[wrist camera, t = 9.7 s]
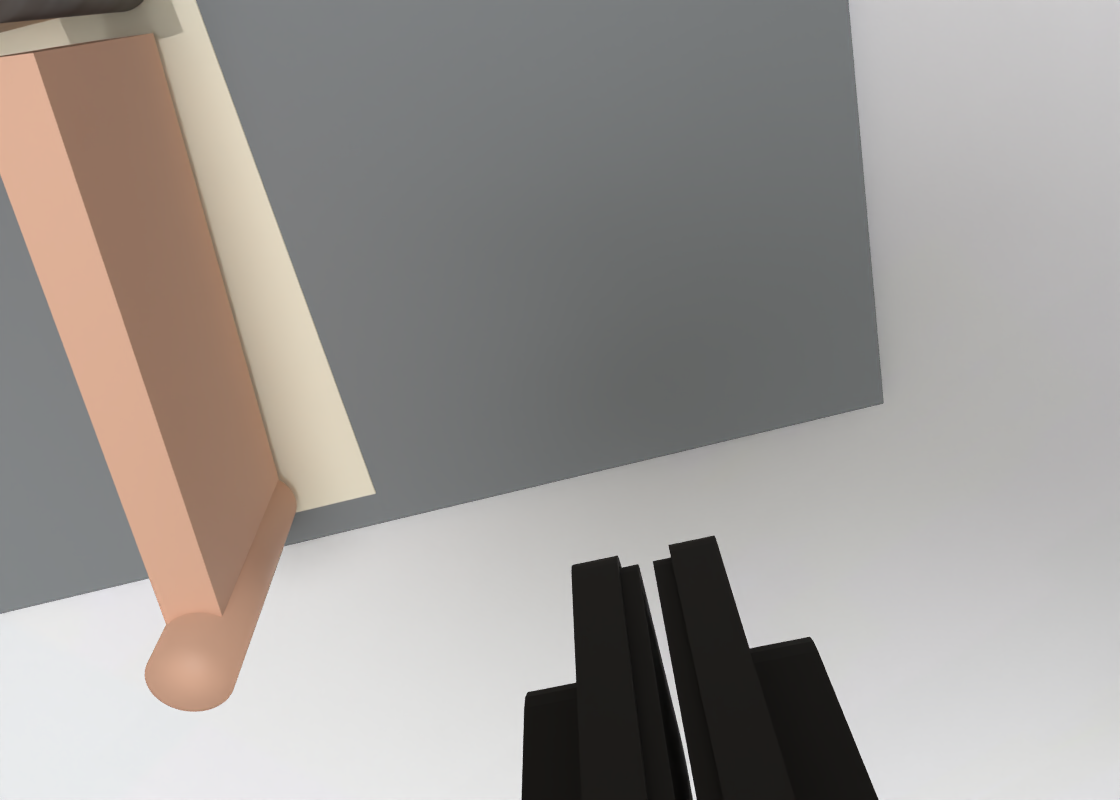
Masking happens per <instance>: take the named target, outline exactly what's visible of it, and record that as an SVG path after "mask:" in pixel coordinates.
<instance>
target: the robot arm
mask: <svg viewBox="0 0 1120 800" xmlns="http://www.w3.org/2000/svg"><path fill="white" fill-rule="evenodd" d="M669 550H670V554H671V558H667V559H662V560H657V561H653V565H654V570H655V576H656V581H657V587H658V592H659V597H660V603H661V608H662V614H663V619H664V624H665V630H666V635H667V641H668V646H669V651H670V657H671V662H672V668H673V673H674V678H675V684H676V689H677V695H678V700H679V705H680V711H681V716H682V722H683V727H684V732H685V738H686V743H687V749H688V754H689V759H690V765H691V770H692V776H693V781H694V786H695V792H696V797H697V800H878V797H877V795H876V793H875V790H874V788H873V785H872V783H871V780H870V778H869V775H868V773H867V770H866V768H865V766H864V763H863V761H862V758H861V756H860V753H859V751H858V748H857V746H856V743H855V741H854V738H853V736H852V734H851V731H850V729H849V726H848V724H847V721H846V719H845V716H844V714H843V711H842V709H841V707H840V704H839V702H838V699H837V697H836V694H835V692H834V689H833V687H832V684H831V682H830V680H829V677H828V675H827V672H826V670H825V667H824V665H823V662H822V660H821V657H820V655H819V652H818V650H817V648H816V646H815V644H814V642H813V640H812V639H811V638H810V637H806V638H801V639H796V640H791V641H786V642H781V643H776V644H771V645H766V646H760V647H755V648H750V649H749V646H748V643H747V639H746V636H745V633H744V629H743V626H742V623H741V620H740V616H739V613H738V610H737V607H736V603H735V600H734V597H733V593H732V590H731V587H730V584H729V580H728V577H727V574H726V571H725V567H724V564H723V561H722V557H721V554H720V551H719V548H718V544H717V541H716V538H715V536H710V537H705V538H701V539H696V540H691V541H686V542H681V543H676V544H672V545H669ZM572 594H573V617H574V640H575V662H576V683H572V684H567V685H562V686H557V687H552V688H547V689H542V690H537V691H532V692H528V693H527V695H526V697H525V706H524V736H523V770H522V800H693V798H692V793H691V787H690V781H689V776H688V770H687V765H686V760H685V755H684V750H683V746H682V741H681V737H680V733H679V728H678V724H677V720H676V716H675V712H674V708H673V704H672V700H671V695H670V691H669V687H668V683H667V679H666V675H665V671H664V667H663V663H662V658H661V654H660V650H659V646H658V642H657V638H656V634H655V630H654V625H653V621H652V617H651V613H650V609H649V605H648V601H647V597H646V592H645V588H644V584H643V580H642V576H641V572H640V568H639V565H633V566H628V567H623V568H621V564H620V561H619V558H618V556H614V557H609V558H604V559H599V560H595V561H590V562H585V563H580V564H575V565H572Z"/></svg>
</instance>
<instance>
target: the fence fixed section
mask: <svg viewBox="0 0 1120 800" xmlns="http://www.w3.org/2000/svg"><path fill="white" fill-rule="evenodd" d="M142 2H143V0H0V33H1V32H5V31H9V30H13V29H17V28H21V27H25V26H28V25H32V24H36V23H40V22H44V21H48V20H52V19H56V18H63V17H73V16H84V15H95V14H105V13H116V12H125V11H129V10H132V9H134V8H136V7H137V6H139V5H140V4H141V3H142Z"/></svg>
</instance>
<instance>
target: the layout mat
mask: <svg viewBox="0 0 1120 800" xmlns="http://www.w3.org/2000/svg"><path fill="white" fill-rule="evenodd" d="M150 33H153V35H154V38H155V42H156V45H157V49H158V52H159V56H160V59H161V63H162V67H163V70H164V74H165V77H166V81H167V84H168V88H169V91H170V95H171V99H172V102H173V106H174V109H175V113H176V116H177V120H178V123H179V127H180V130H181V134H182V138H183V141H184V145H185V148H186V152H187V155H188V159H189V162H190V166H191V169H192V173H193V177H194V180H195V184H196V187H197V191H198V194H199V198H200V201H201V205H202V208H203V212H204V216H205V219H206V223H207V226H208V230H209V233H210V237H211V240H212V244H213V248H214V251H215V255H216V258H217V262H218V265H219V269H220V272H221V276H222V279H223V283H224V287H225V290H226V294H227V297H228V301H229V304H230V308H231V311H232V315H233V318H234V322H235V326H236V329H237V333H238V336H239V340H240V343H241V347H242V350H243V354H244V357H245V361H246V365H247V368H248V372H249V375H250V379H251V382H252V386H253V389H254V393H255V397H256V400H257V404H258V407H259V411H260V414H261V418H262V421H263V425H264V428H265V432H266V436H267V439H268V443H269V446H270V450H271V453H272V457H273V460H274V464H275V467H276V471H277V475H278V478H279V480H280V481H282V482H283V483H285V484H286V485H287V486H288V487H289V488H290V489H291V491H292V492H293V494H294V496H295V499H296V503H297V508H296V513H295V516H294V519H293V522H292V524H291V527H290V530H289V533H288V536H287V539H286V542H285V544H284V546H287V545H291V544H295V543H300V542H304V541H308V540H312V539H316V538H321V537H325V536H329V535H333V534H337V533H342V532H346V531H350V530H354V529H358V528H363V527H367V526H371V525H375V524H379V523H384V522H388V521H392V520H396V519H400V518H405V517H409V516H413V515H417V514H421V513H426V512H430V511H434V510H438V509H442V508H447V507H451V506H455V505H459V504H463V503H467V502H472V501H476V500H480V499H484V498H488V497H493V496H497V495H501V494H505V493H509V492H514V491H518V490H522V489H526V488H530V487H535V486H539V485H543V484H547V483H551V482H556V481H560V480H564V479H568V478H572V477H577V476H581V475H585V474H589V473H593V472H598V471H602V470H606V469H610V468H614V467H619V466H623V465H627V464H631V463H635V462H640V461H644V460H648V459H652V458H656V457H661V456H665V455H669V454H673V453H677V452H682V451H686V450H690V449H694V448H698V447H703V446H707V445H711V444H715V443H719V442H724V441H728V440H732V439H736V438H740V437H745V436H749V435H753V434H757V433H761V432H766V431H770V430H774V429H778V428H782V427H787V426H791V425H795V424H799V423H803V422H808V421H812V420H816V419H820V418H824V417H829V416H833V415H837V414H841V413H845V412H850V411H854V410H858V409H862V408H866V407H871V406H875V405H879V404H883V392H882V380H881V369H880V357H879V346H878V334H877V323H876V312H875V300H874V289H873V277H872V266H871V255H870V243H869V232H868V220H867V209H866V197H865V186H864V175H863V163H862V152H861V140H860V129H859V117H858V106H857V95H856V83H855V72H854V60H853V49H852V37H851V26H850V15H849V3H848V0H143V2H142V3H141V4H140V5H139V6H137V7H136V8H134V9H132V10H129V11H125V12H116V13H105V14H95V15H84V16H73V17H63V18H56V19H52V20H48V21H44V22H40V23H36V24H32V25H28V26H25V27H21V28H17V29H13V30H9V31H5V32H1V33H0V56H3V55H9V54H15V53H22V52H28V51H34V50H40V49H47V48H53V47H59V46H65V45H71V44H78V43H84V42H90V41H96V40H103V39H111V38H119V37H126V36H134V35H142V34H150ZM148 578H149V576H148V573H147V571H146V568H145V565H144V563H143V560H142V557H141V554H140V552H139V549H138V546H137V544H136V541H135V538H134V536H133V533H132V530H131V527H130V525H129V522H128V519H127V517H126V514H125V511H124V508H123V506H122V503H121V500H120V498H119V495H118V492H117V489H116V487H115V484H114V481H113V479H112V476H111V473H110V470H109V468H108V465H107V462H106V460H105V457H104V454H103V451H102V449H101V446H100V443H99V441H98V438H97V435H96V432H95V430H94V427H93V424H92V422H91V419H90V416H89V414H88V411H87V408H86V405H85V403H84V400H83V397H82V395H81V392H80V389H79V386H78V384H77V381H76V378H75V376H74V373H73V370H72V367H71V365H70V362H69V359H68V357H67V354H66V351H65V348H64V346H63V343H62V340H61V338H60V335H59V332H58V329H57V327H56V324H55V321H54V319H53V316H52V313H51V310H50V308H49V305H48V302H47V300H46V297H45V294H44V292H43V289H42V286H41V283H40V281H39V278H38V275H37V273H36V270H35V267H34V264H33V262H32V259H31V256H30V254H29V251H28V248H27V245H26V243H25V240H24V237H23V235H22V232H21V229H20V226H19V224H18V221H17V218H16V216H15V213H14V210H13V207H12V205H11V202H10V199H9V197H8V194H7V191H6V188H5V186H4V183H3V180H2V178H1V175H0V614H1V613H6V612H10V611H14V610H18V609H22V608H27V607H31V606H35V605H39V604H43V603H48V602H52V601H56V600H60V599H64V598H69V597H73V596H77V595H81V594H85V593H90V592H94V591H98V590H102V589H106V588H111V587H115V586H119V585H123V584H127V583H132V582H136V581H140V580H144V579H148Z"/></svg>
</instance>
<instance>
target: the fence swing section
mask: <svg viewBox="0 0 1120 800" xmlns="http://www.w3.org/2000/svg"><path fill="white" fill-rule="evenodd" d="M0 175H1V178H2V180H3V183H4V186H5V188H6V191H7V194H8V197H9V199H10V202H11V205H12V207H13V210H14V213H15V216H16V218H17V221H18V224H19V226H20V229H21V232H22V235H23V237H24V240H25V243H26V245H27V248H28V251H29V254H30V256H31V259H32V262H33V264H34V267H35V270H36V273H37V275H38V278H39V281H40V283H41V286H42V289H43V292H44V294H45V297H46V300H47V302H48V305H49V308H50V310H51V313H52V316H53V319H54V321H55V324H56V327H57V329H58V332H59V335H60V338H61V340H62V343H63V346H64V348H65V351H66V354H67V357H68V359H69V362H70V365H71V367H72V370H73V373H74V376H75V378H76V381H77V384H78V386H79V389H80V392H81V395H82V397H83V400H84V403H85V405H86V408H87V411H88V414H89V416H90V419H91V422H92V424H93V427H94V430H95V432H96V435H97V438H98V441H99V443H100V446H101V449H102V451H103V454H104V457H105V460H106V462H107V465H108V468H109V470H110V473H111V476H112V479H113V481H114V484H115V487H116V489H117V492H118V495H119V498H120V500H121V503H122V506H123V508H124V511H125V514H126V517H127V519H128V522H129V525H130V527H131V530H132V533H133V536H134V538H135V541H136V544H137V546H138V549H139V552H140V554H141V557H142V560H143V563H144V565H145V568H146V571H147V573H148V576H149V579H150V582H151V584H152V587H153V590H154V592H155V595H156V598H157V601H158V603H159V606H160V609H161V611H162V614H163V617H164V620H165V622H166V626H165V628H164V630H163V632H162V634H161V636H160V638H159V640H158V642H157V644H156V646H155V648H154V650H153V653H152V655H151V657H150V659H149V661H148V663H147V665H146V669H145V680H146V683H147V686H148V688H149V689H150V691H151V692H152V694H153V695H154V696H155V697H156V698H157V699H159V700H160V701H161V702H163V703H164V704H166V705H168V706H170V707H173V708H175V709H179V710H183V711H205V710H209V709H212V708H215V707H217V706H219V705H220V704H222V703H223V702H225V701H226V700H227V699H228V698H229V696H230V695H231V693H232V691H233V689H234V686H235V683H236V681H237V678H238V675H239V672H240V669H241V666H242V664H243V661H244V658H245V655H246V652H247V649H248V647H249V644H250V641H251V638H252V635H253V632H254V630H255V627H256V624H257V621H258V618H259V615H260V613H261V610H262V607H263V604H264V601H265V598H266V595H267V593H268V590H269V587H270V584H271V581H272V578H273V576H274V573H275V570H276V567H277V564H278V561H279V559H280V556H281V553H282V550H283V547H284V544H285V542H286V539H287V536H288V533H289V530H290V527H291V524H292V522H293V519H294V516H295V513H296V508H297V503H296V499H295V496H294V494H293V492H292V491H291V489H290V488H289V487H288V486H287V485H286V484H285V483H283V482H282V481H280V480H279V478H278V475H277V471H276V467H275V464H274V460H273V457H272V453H271V450H270V446H269V443H268V439H267V436H266V432H265V428H264V425H263V421H262V418H261V414H260V411H259V407H258V404H257V400H256V397H255V393H254V389H253V386H252V382H251V379H250V375H249V372H248V368H247V365H246V361H245V357H244V354H243V350H242V347H241V343H240V340H239V336H238V333H237V329H236V326H235V322H234V318H233V315H232V311H231V308H230V304H229V301H228V297H227V294H226V290H225V287H224V283H223V279H222V276H221V272H220V269H219V265H218V262H217V258H216V255H215V251H214V248H213V244H212V240H211V237H210V233H209V230H208V226H207V223H206V219H205V216H204V212H203V208H202V205H201V201H200V198H199V194H198V191H197V187H196V184H195V180H194V177H193V173H192V169H191V166H190V162H189V159H188V155H187V152H186V148H185V145H184V141H183V138H182V134H181V130H180V127H179V123H178V120H177V116H176V113H175V109H174V106H173V102H172V99H171V95H170V91H169V88H168V84H167V81H166V77H165V74H164V70H163V67H162V63H161V59H160V56H159V52H158V49H157V45H156V42H155V38H154V35H153V33H150V34H142V35H134V36H126V37H119V38H111V39H103V40H96V41H90V42H84V43H78V44H71V45H65V46H59V47H53V48H47V49H40V50H34V51H28V52H22V53H15V54H9V55H3V56H0Z"/></svg>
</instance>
